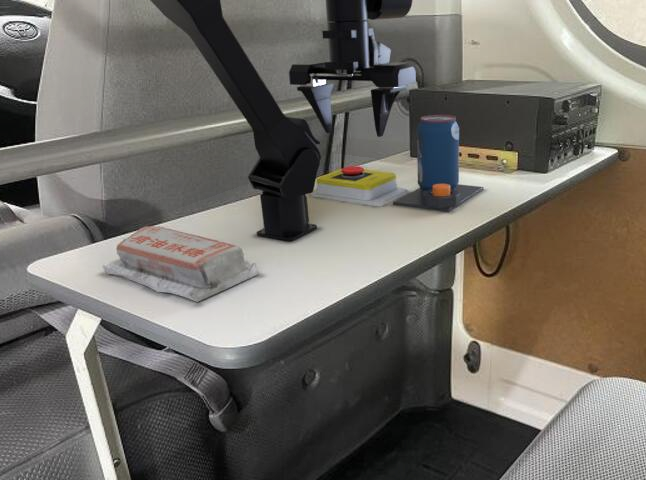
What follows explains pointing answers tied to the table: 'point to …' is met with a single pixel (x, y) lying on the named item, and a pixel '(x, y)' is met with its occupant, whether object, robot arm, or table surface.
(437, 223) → the table surface
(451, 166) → the soda can
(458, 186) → the scale
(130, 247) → the packaged product
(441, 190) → the button
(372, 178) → the emergency button
